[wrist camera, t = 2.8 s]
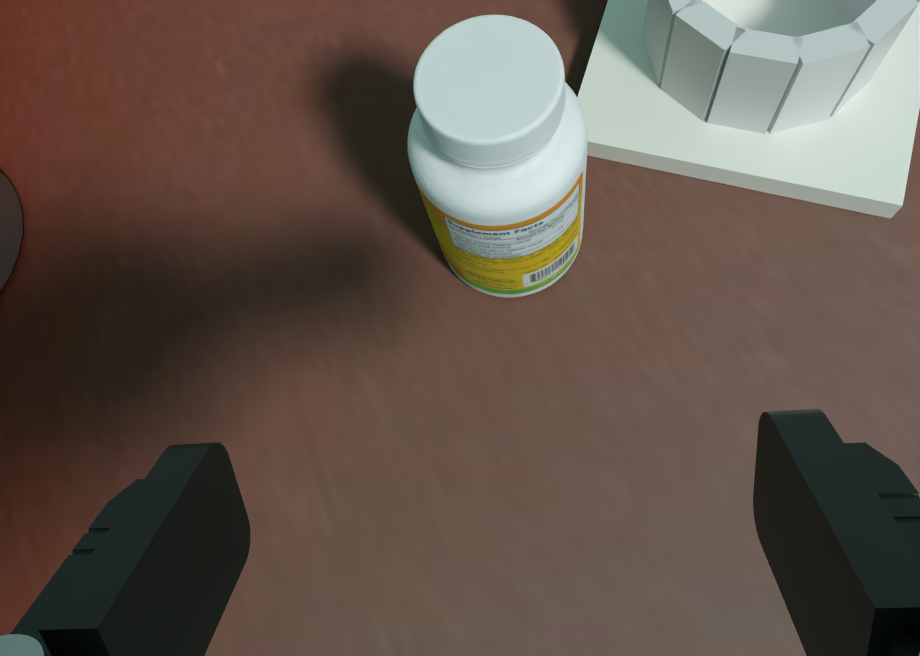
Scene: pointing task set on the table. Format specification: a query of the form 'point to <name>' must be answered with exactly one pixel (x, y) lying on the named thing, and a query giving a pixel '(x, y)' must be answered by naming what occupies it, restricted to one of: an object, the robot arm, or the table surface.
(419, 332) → the table surface
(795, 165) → the sleeve holder
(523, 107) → the supplement bottle
